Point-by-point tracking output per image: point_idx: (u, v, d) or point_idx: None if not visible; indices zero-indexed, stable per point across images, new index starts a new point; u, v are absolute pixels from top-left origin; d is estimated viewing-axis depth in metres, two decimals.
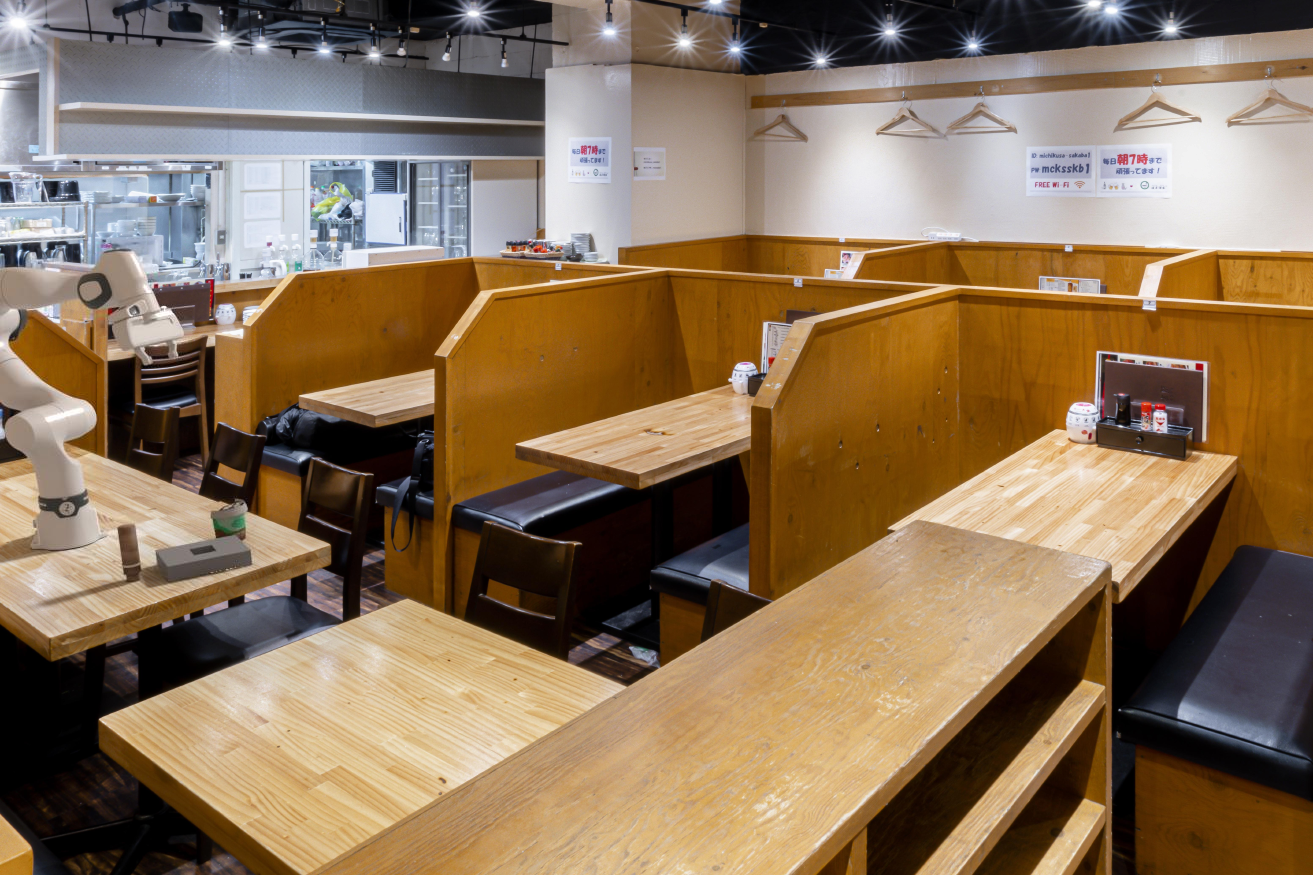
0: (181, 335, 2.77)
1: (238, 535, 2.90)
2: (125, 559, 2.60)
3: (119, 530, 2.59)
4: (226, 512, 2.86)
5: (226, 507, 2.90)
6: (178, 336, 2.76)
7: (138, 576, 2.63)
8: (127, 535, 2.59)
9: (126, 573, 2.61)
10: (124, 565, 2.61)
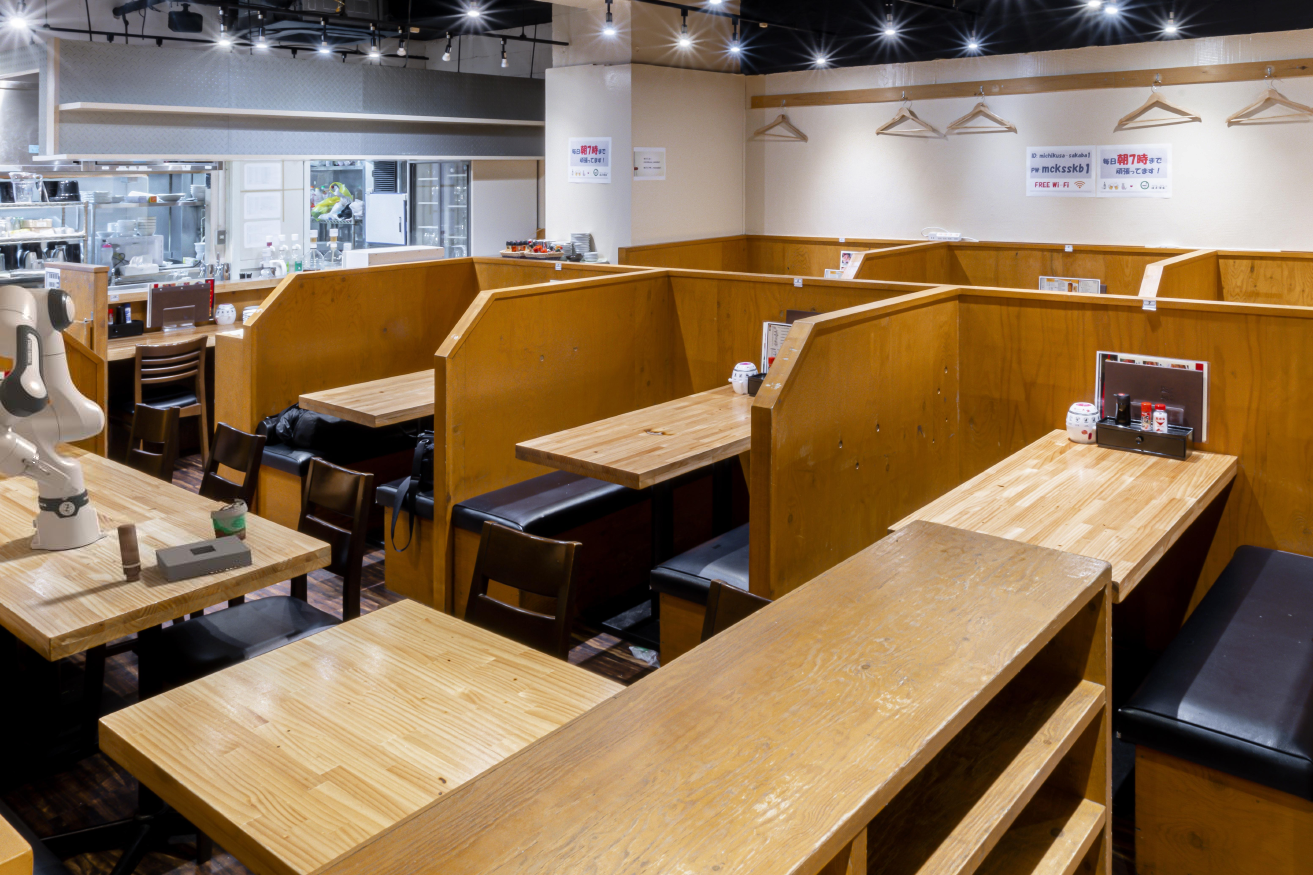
0: (58, 489, 2.40)
1: (238, 535, 2.90)
2: (125, 559, 2.60)
3: (119, 530, 2.59)
4: (226, 512, 2.86)
5: (226, 507, 2.90)
6: None
7: (138, 576, 2.63)
8: (127, 535, 2.59)
9: (126, 573, 2.61)
10: (124, 565, 2.61)
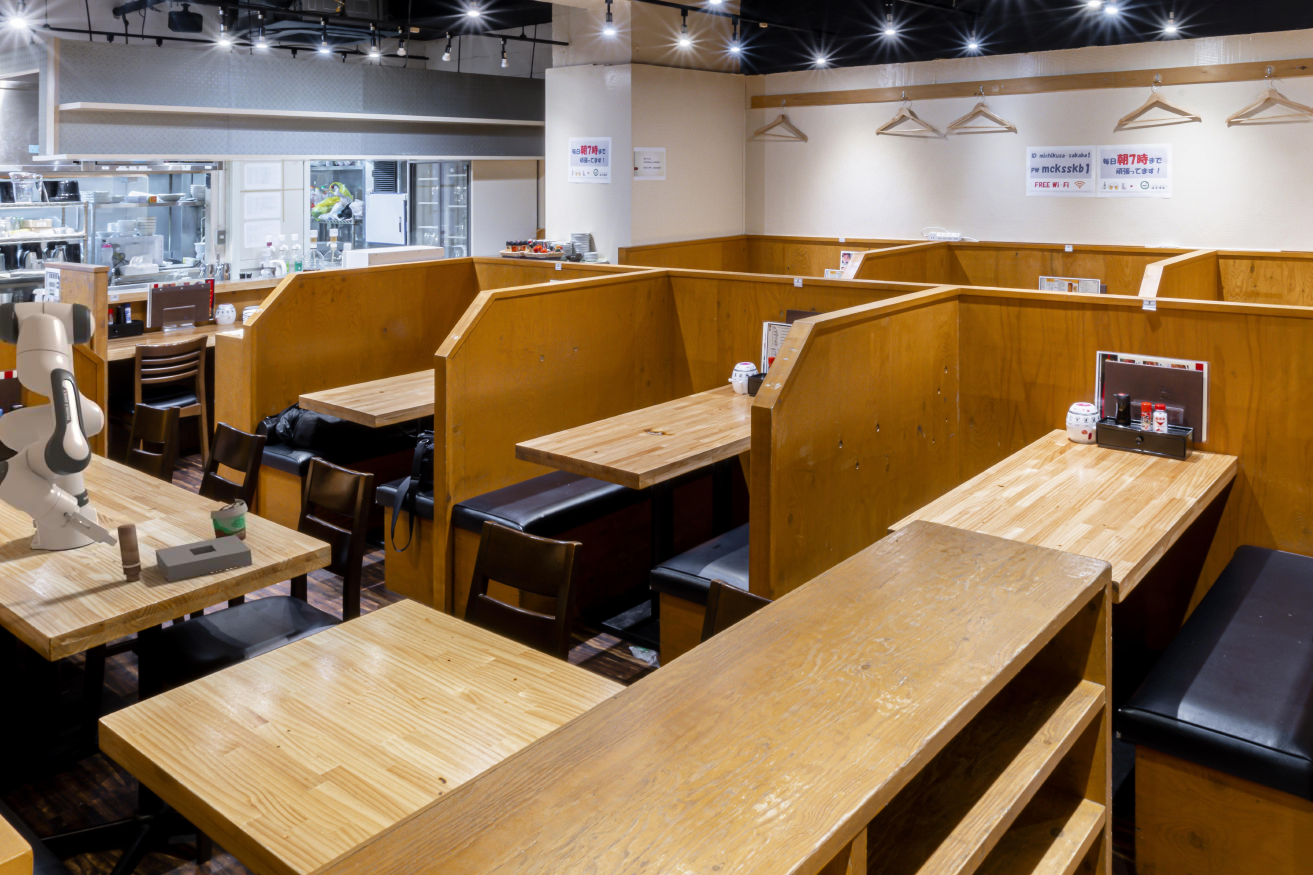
0: None
1: (238, 535, 2.90)
2: (125, 559, 2.60)
3: (119, 530, 2.59)
4: (226, 512, 2.86)
5: (226, 507, 2.90)
6: None
7: (138, 576, 2.63)
8: (127, 535, 2.59)
9: (126, 573, 2.61)
10: (124, 565, 2.61)
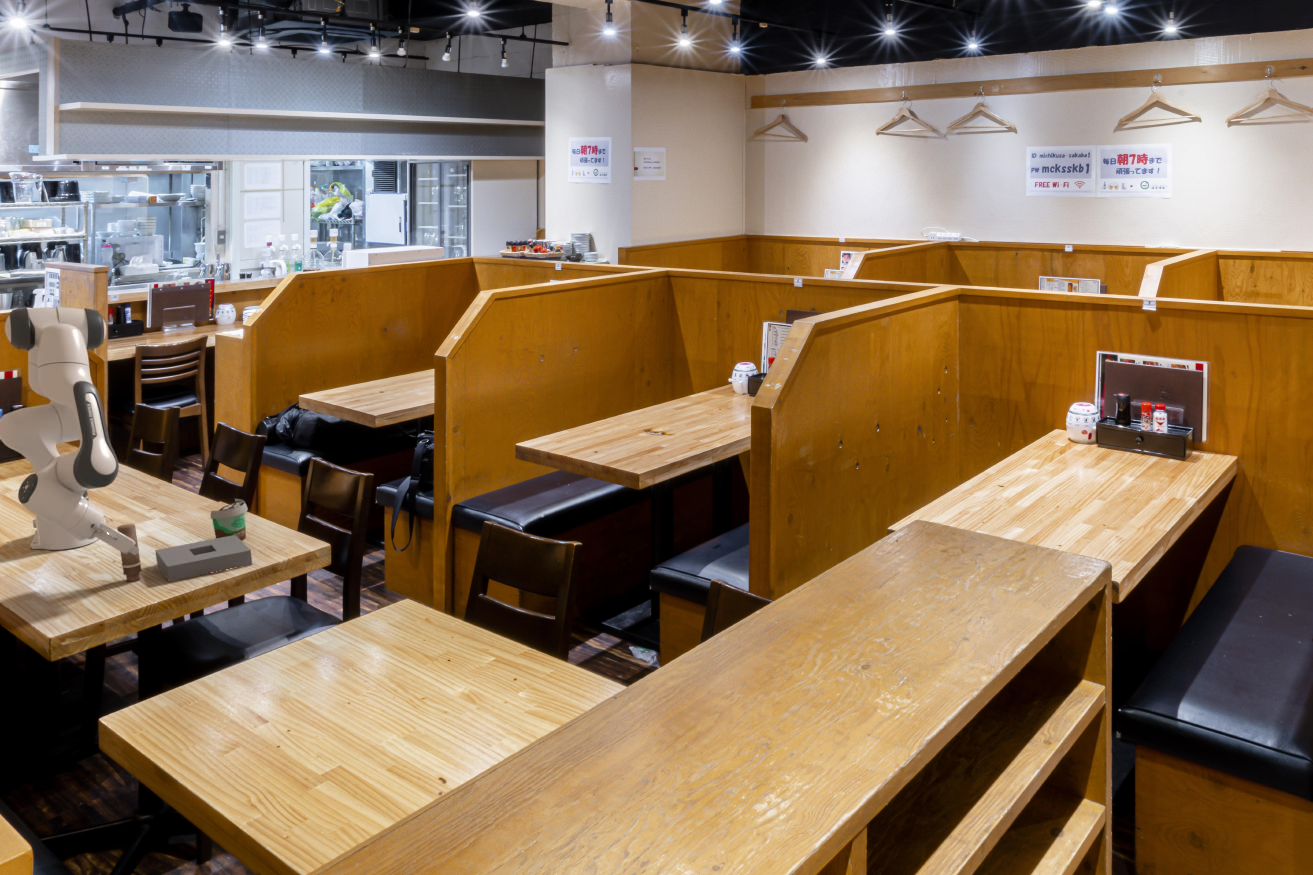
0: None
1: (238, 535, 2.90)
2: (125, 559, 2.60)
3: (119, 530, 2.59)
4: (226, 512, 2.86)
5: (226, 507, 2.90)
6: None
7: (138, 576, 2.63)
8: (127, 535, 2.59)
9: (126, 573, 2.61)
10: (124, 565, 2.61)
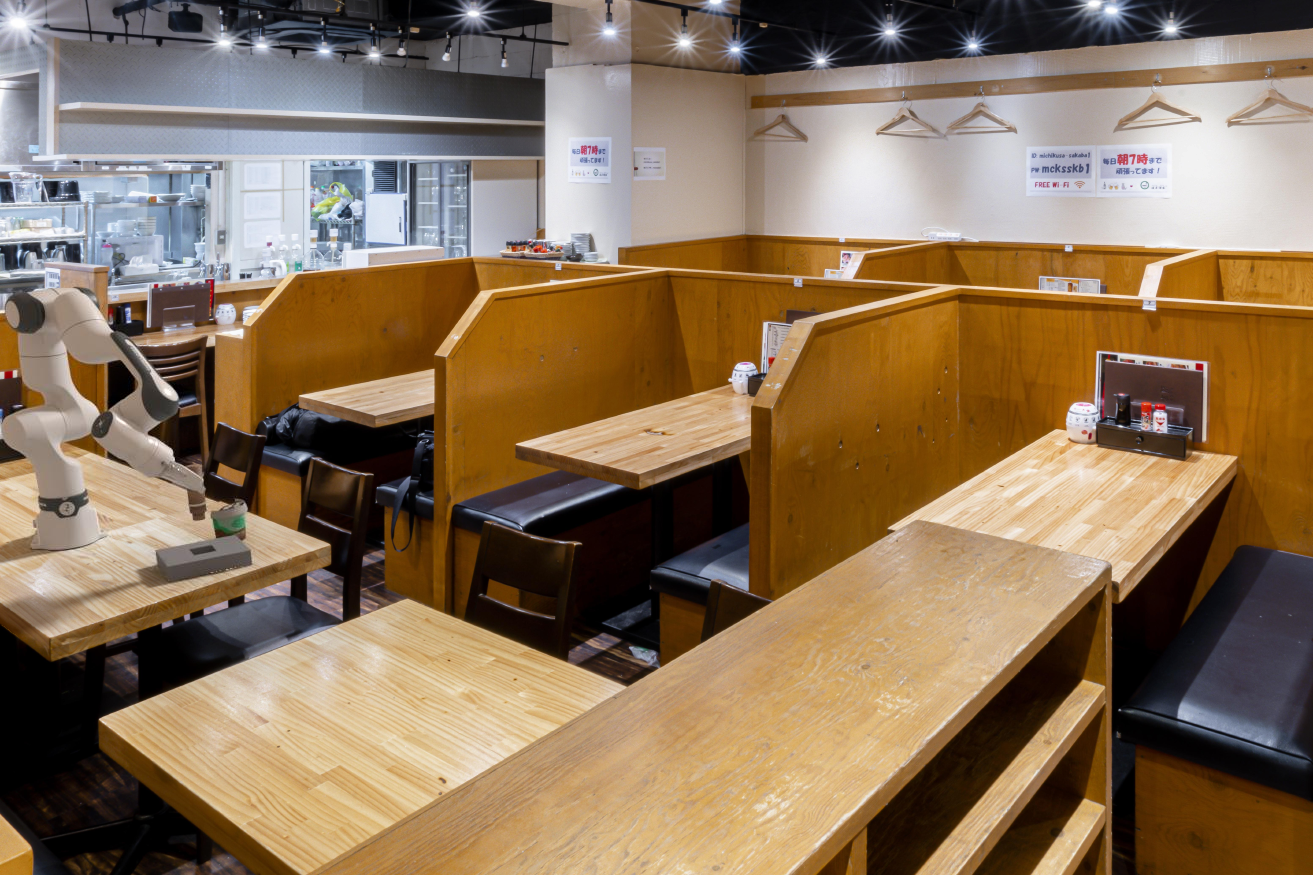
0: None
1: (238, 535, 2.90)
2: (192, 498, 2.67)
3: None
4: (226, 512, 2.86)
5: (226, 507, 2.90)
6: None
7: (204, 516, 2.70)
8: None
9: (192, 512, 2.68)
10: (191, 504, 2.68)
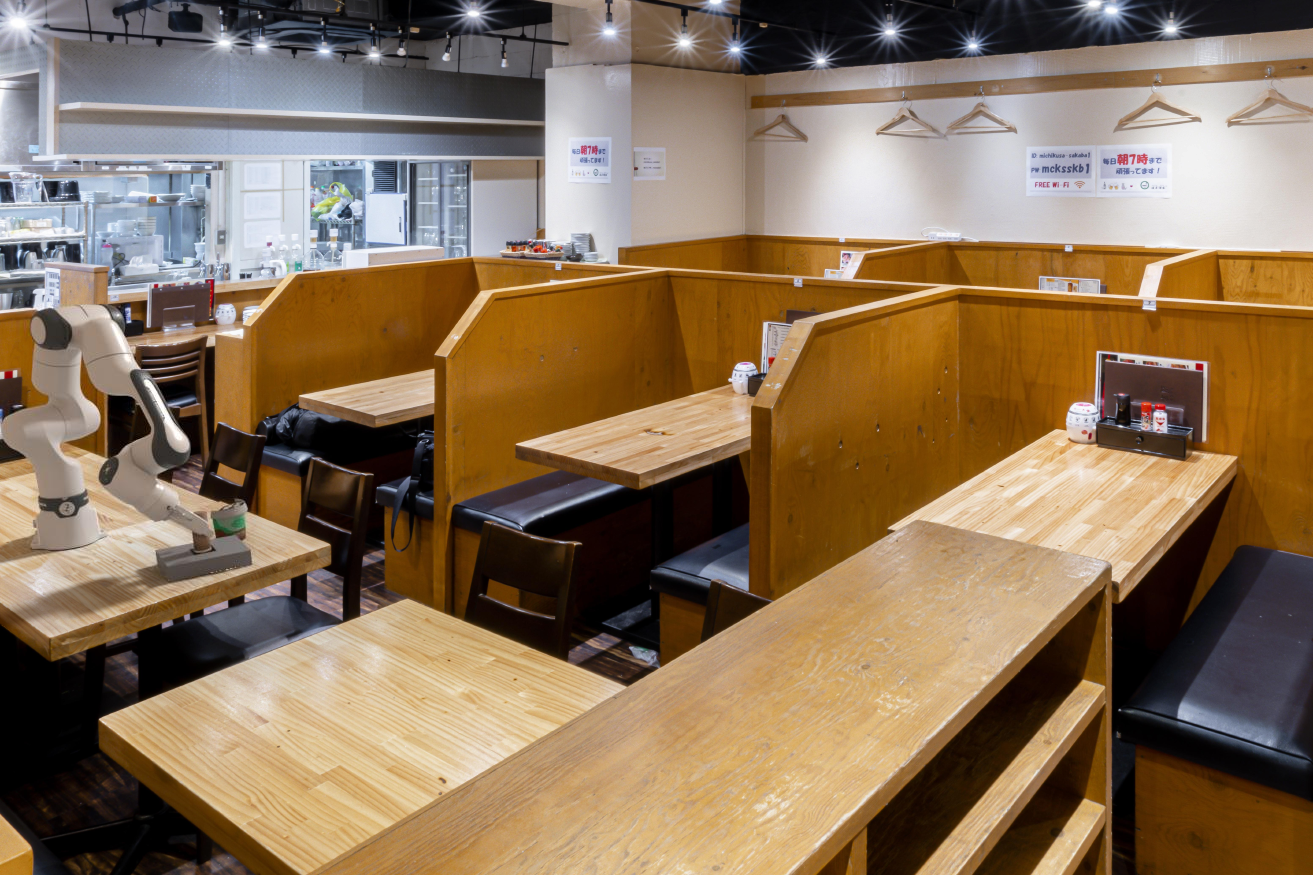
0: (198, 533, 2.62)
1: (238, 535, 2.90)
2: (197, 544, 2.70)
3: None
4: (226, 512, 2.86)
5: (226, 507, 2.90)
6: None
7: None
8: None
9: None
10: (196, 550, 2.71)
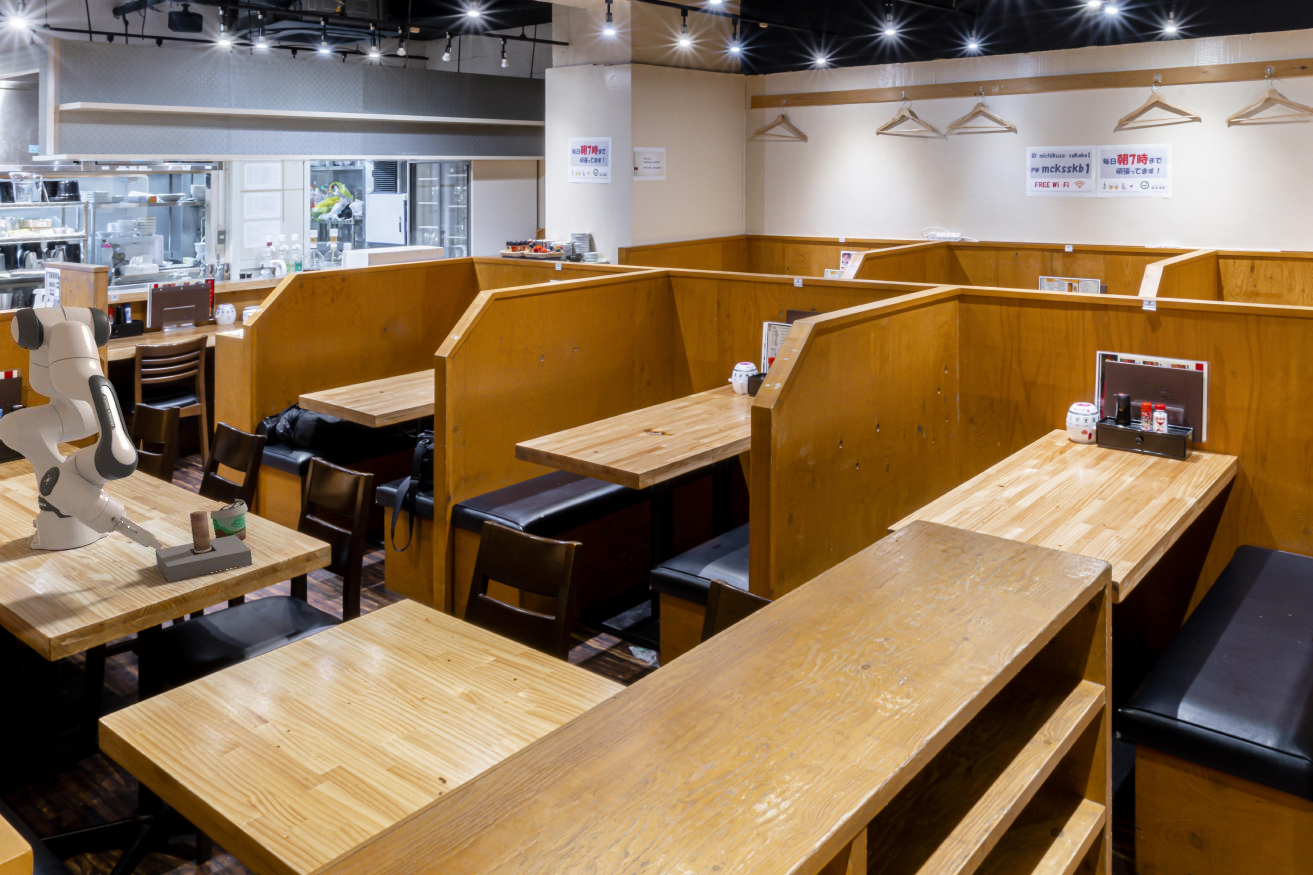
0: (144, 546, 2.53)
1: (238, 535, 2.90)
2: (197, 545, 2.70)
3: (192, 516, 2.68)
4: (226, 512, 2.86)
5: (226, 507, 2.90)
6: None
7: None
8: (200, 522, 2.69)
9: None
10: (196, 550, 2.71)
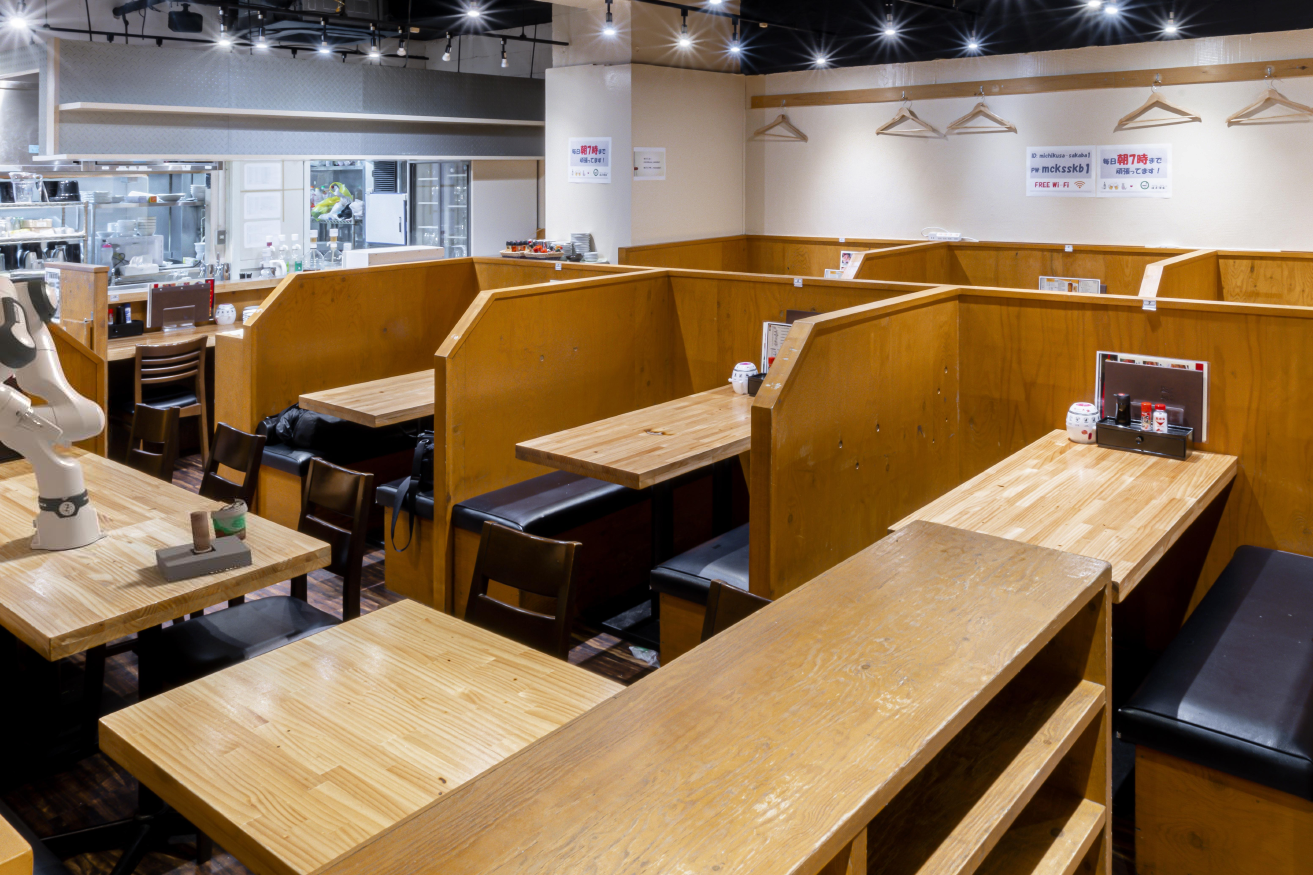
0: (51, 442, 2.46)
1: (238, 535, 2.90)
2: (197, 545, 2.70)
3: (192, 516, 2.69)
4: (226, 512, 2.86)
5: (226, 507, 2.90)
6: None
7: None
8: (200, 521, 2.69)
9: None
10: (196, 550, 2.71)
